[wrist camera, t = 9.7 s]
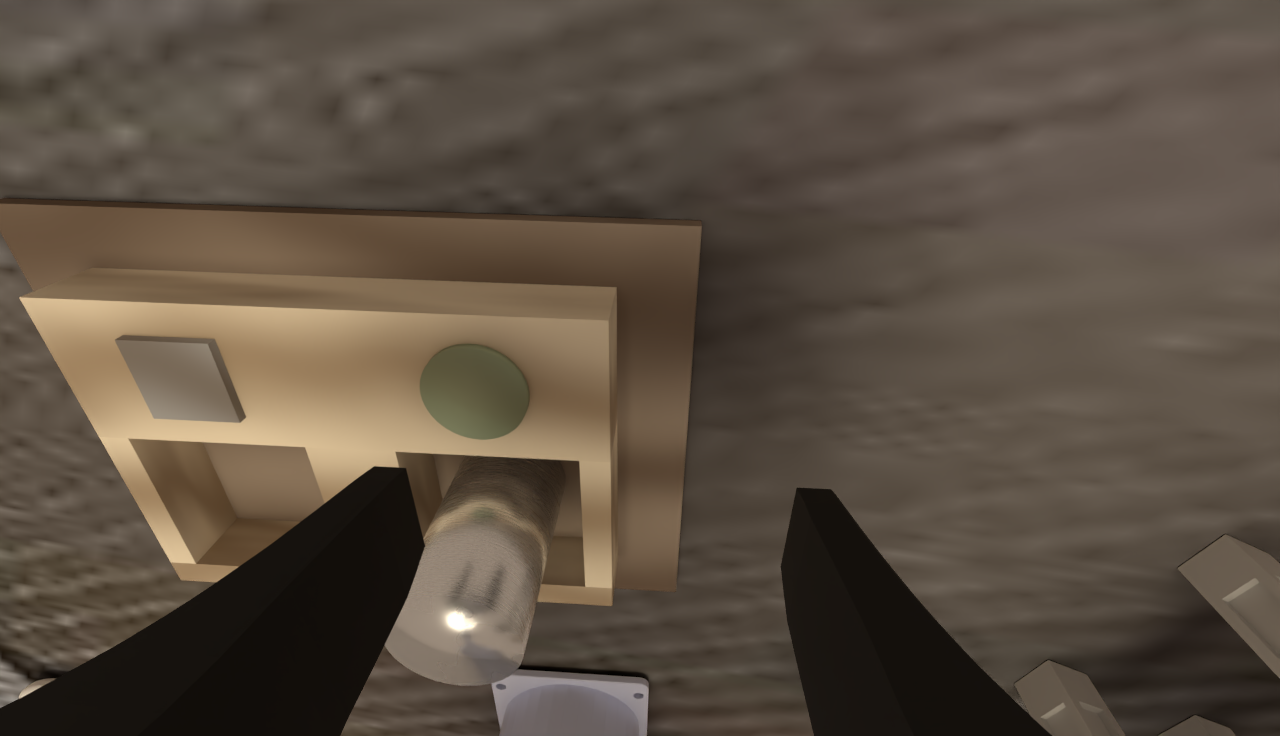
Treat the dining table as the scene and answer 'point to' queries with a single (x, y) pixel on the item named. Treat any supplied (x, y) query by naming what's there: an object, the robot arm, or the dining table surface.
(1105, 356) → the dining table surface
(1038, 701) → the stool
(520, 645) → the peg
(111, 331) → the socket block
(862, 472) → the dining table surface
